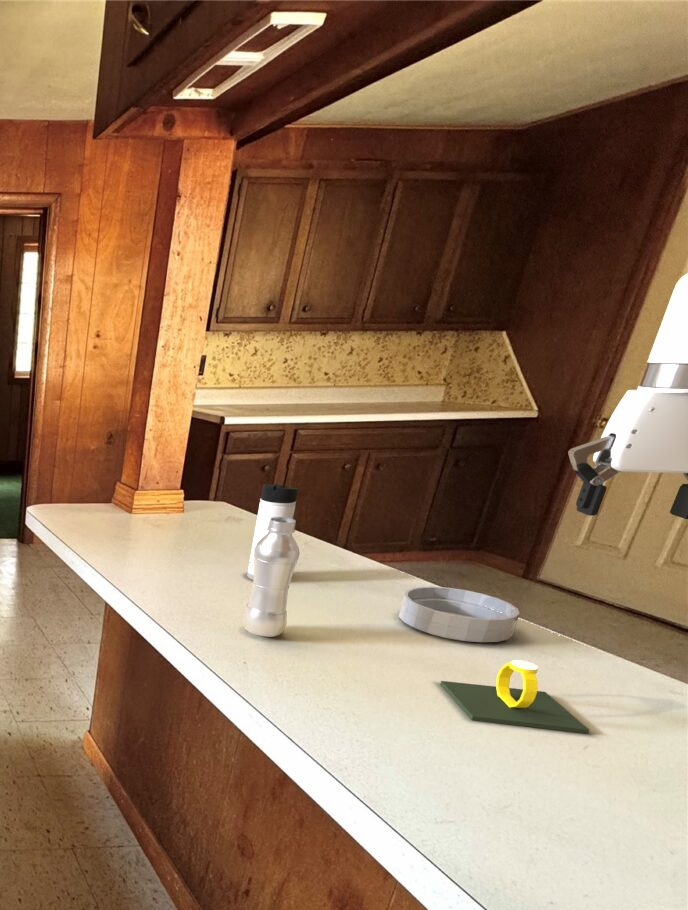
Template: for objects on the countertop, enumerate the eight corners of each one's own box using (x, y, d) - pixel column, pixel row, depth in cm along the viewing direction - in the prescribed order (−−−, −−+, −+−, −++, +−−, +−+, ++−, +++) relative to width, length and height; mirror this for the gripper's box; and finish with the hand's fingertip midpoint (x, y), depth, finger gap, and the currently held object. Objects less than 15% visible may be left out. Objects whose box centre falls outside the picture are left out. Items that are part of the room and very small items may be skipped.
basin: (484, 614, 118) (492, 590, 116) (529, 649, 104) (539, 623, 103) (385, 606, 122) (391, 583, 121) (416, 639, 109) (424, 614, 107)
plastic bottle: (261, 643, 109) (283, 527, 102) (231, 628, 116) (250, 517, 108) (292, 638, 111) (317, 523, 104) (261, 623, 117) (282, 513, 110)
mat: (543, 695, 92) (545, 691, 91) (587, 733, 83) (589, 729, 83) (439, 684, 95) (441, 680, 95) (471, 719, 87) (472, 716, 86)
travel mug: (238, 576, 139) (255, 482, 132) (260, 571, 142) (277, 478, 135) (265, 585, 134) (284, 488, 127) (287, 579, 137) (306, 484, 129)
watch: (485, 691, 92) (498, 653, 90) (509, 693, 91) (523, 654, 89) (509, 713, 87) (524, 673, 84) (535, 715, 86) (550, 675, 84)
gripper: (755, 375, 81) (697, 511, 88) (578, 378, 87) (535, 505, 93) (811, 379, 75) (744, 526, 81) (614, 381, 80) (566, 518, 86)
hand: (632, 515), depth 87 cm, fingers open, 9 cm apart
